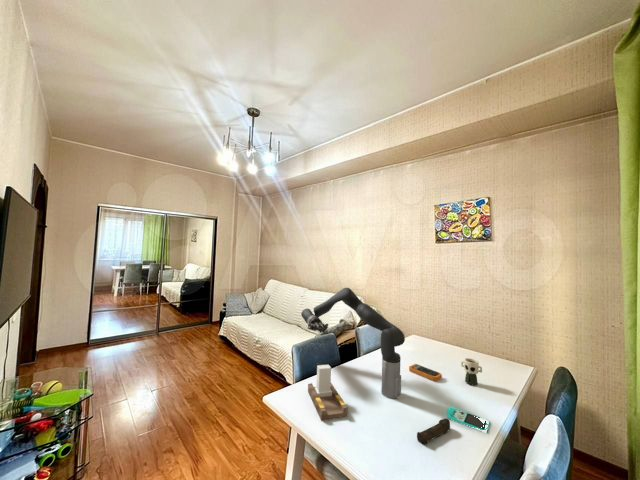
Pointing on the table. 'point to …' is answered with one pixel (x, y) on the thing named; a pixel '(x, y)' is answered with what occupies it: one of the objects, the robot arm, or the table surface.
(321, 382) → the switch tab
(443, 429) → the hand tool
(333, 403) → the switch housing
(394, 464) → the table surface
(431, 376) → the multimeter
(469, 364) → the character mug
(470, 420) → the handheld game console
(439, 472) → the table surface
